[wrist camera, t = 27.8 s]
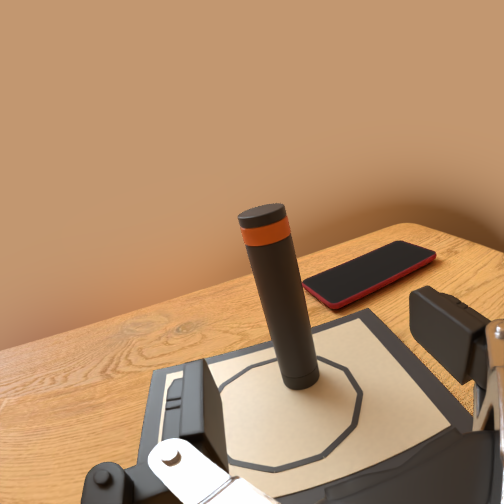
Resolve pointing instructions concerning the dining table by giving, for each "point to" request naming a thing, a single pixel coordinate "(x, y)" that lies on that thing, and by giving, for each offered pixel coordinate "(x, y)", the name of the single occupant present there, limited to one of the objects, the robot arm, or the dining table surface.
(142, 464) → the robot arm
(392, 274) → the smartphone
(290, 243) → the marker
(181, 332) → the dining table surface
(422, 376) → the board
